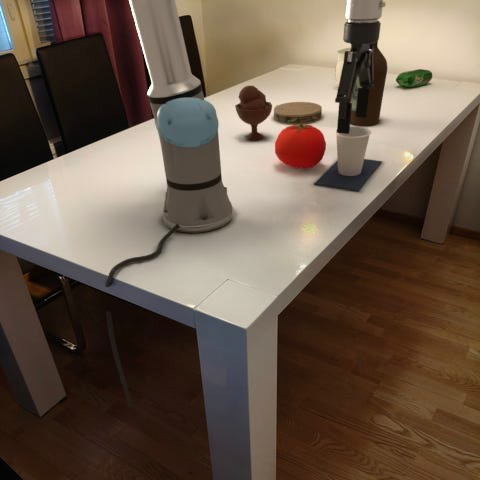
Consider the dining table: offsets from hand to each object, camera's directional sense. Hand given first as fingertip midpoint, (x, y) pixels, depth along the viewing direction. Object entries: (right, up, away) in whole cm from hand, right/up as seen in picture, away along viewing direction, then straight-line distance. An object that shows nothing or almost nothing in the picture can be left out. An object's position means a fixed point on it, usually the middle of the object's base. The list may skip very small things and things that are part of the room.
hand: (352, 124), depth 116 cm
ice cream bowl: (-22, +9, +33) cm, 41 cm away
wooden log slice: (-7, +22, +48) cm, 53 cm away
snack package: (+41, +45, +74) cm, 95 cm away
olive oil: (+13, +17, +40) cm, 46 cm away
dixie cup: (+1, -9, +7) cm, 12 cm away
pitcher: (+15, +43, +74) cm, 87 cm away
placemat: (+1, -9, +7) cm, 12 cm away
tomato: (-11, -6, +13) cm, 18 cm away
